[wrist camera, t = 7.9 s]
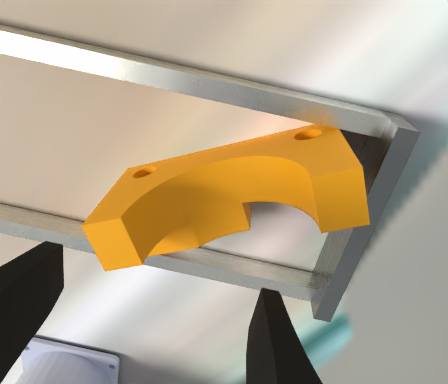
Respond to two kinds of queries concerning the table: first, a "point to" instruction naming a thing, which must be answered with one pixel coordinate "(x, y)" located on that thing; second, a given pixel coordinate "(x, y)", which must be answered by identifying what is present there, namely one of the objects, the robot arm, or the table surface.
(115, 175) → the table surface
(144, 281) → the table surface
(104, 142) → the table surface
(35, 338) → the robot arm
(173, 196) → the pipe clamp
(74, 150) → the table surface
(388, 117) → the rail
